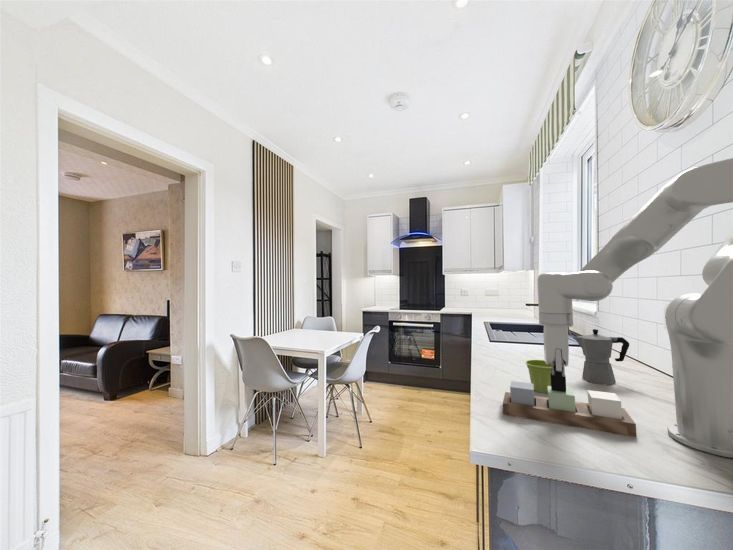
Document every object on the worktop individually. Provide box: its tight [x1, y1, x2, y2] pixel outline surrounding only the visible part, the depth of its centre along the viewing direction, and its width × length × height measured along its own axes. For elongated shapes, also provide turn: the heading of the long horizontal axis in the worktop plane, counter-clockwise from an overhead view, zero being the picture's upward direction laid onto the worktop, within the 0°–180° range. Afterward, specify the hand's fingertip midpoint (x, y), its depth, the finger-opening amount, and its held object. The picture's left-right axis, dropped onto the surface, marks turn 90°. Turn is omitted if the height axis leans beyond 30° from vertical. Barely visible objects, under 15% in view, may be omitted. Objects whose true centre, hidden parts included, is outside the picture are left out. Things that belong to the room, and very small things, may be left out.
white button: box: [587, 389, 623, 419], centre depth 71 cm, size 6×6×5 cm
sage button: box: [547, 386, 576, 412], centre depth 75 cm, size 6×6×5 cm
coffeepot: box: [572, 328, 630, 385], centre depth 101 cm, size 15×9×18 cm, turn 56°
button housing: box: [502, 391, 638, 438], centre depth 75 cm, size 27×9×3 cm, turn 60°
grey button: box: [509, 380, 535, 406], centre depth 79 cm, size 6×6×5 cm
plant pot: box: [524, 359, 551, 394], centre depth 94 cm, size 9×9×9 cm
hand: (558, 390), depth 75 cm, fingers closed
